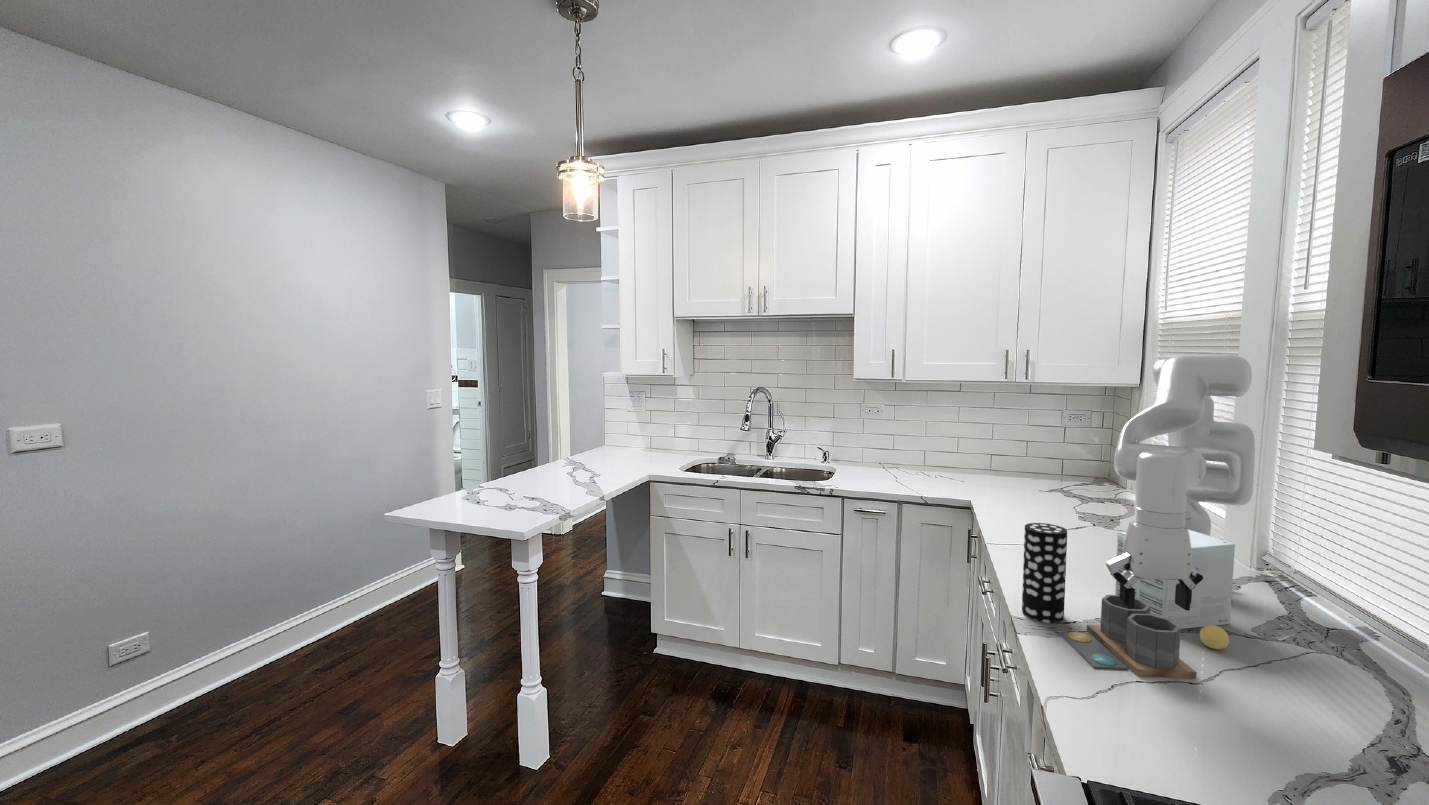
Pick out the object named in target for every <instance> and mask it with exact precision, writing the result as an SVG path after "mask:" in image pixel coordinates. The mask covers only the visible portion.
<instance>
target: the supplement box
mask: <svg viewBox="0 0 1429 805" xmlns="http://www.w3.org/2000/svg"><path fill="white" fill-rule="evenodd" d="M1188 532H1189V536H1190V542H1191V554H1192V558H1194V559H1196V560H1198V561H1200V562H1202V563H1204V564H1206V565H1208V566H1209V569H1208V570H1207V572H1206V573H1205V575H1203V580H1202V581H1201V582H1199V583H1198V584H1197V585H1196V588H1195V589H1194V590H1192V599H1191V604H1190V610H1184V609H1183V608H1181V607H1180V606H1178V605H1176V604H1175V590H1176V584H1177V583H1178V584H1179V583H1180V582H1179V581H1178V580H1153V579H1139V580H1138V581H1137V582H1136V583H1135V584H1134V585H1133V586H1132V588H1133V589H1135V598H1136V599H1139V600H1142V601H1143V602H1145V603H1146V604H1148V605H1149V606H1150V614H1152V615H1155V616H1159V617H1162V618H1166V619H1169V620H1171V621H1173V622H1174V623H1175V624H1177V625H1178V626H1180V627H1181V630H1184V629H1193V628H1203V627H1205V626H1208V625H1214V626H1224V625H1229V624H1230V623H1231V614H1232V613H1231V612H1232V598H1233V597H1232V596H1233V579H1234V565H1235V563H1234V562H1235V550H1236V549H1235V548H1236V544H1235V543H1233V542H1230V541H1226V540H1225V539H1220V538H1217V537H1216V536H1215V537H1214V536H1212V535H1210V536H1208V535H1205V534H1202V533H1198V532H1195V531H1191V530H1188ZM1125 534H1126V531H1118V532H1117V539H1116V540H1117V541H1116V542H1117V543H1116V557H1118V556H1121V555H1122V550H1123V543H1124V538H1125ZM1118 569H1119V572H1120V574H1122V573H1123V572H1124V571H1125V570H1124V569H1122V567H1121V566H1120V567H1119V568H1118ZM1194 569H1195V567H1194V566H1193V565H1192V567H1191V572H1194ZM1114 592H1115V594H1114V595H1120V583H1119V582H1118V581H1117V580H1116V579H1115V591H1114Z"/></svg>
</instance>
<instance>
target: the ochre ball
mask: <svg viewBox="0 0 1429 805" xmlns="http://www.w3.org/2000/svg"><path fill="white" fill-rule="evenodd" d="M1199 638H1200V641H1201V642H1202V644H1204V645H1205V646H1206V647H1208V648H1210V649H1212V650H1223V649H1225V648H1227V646H1229V644H1230V637H1229V634H1228V632H1226V630H1224V628H1222V627H1220V626H1219V625H1215V626H1214V625H1208V626H1205V627H1201V628H1200V631H1199Z"/></svg>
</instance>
